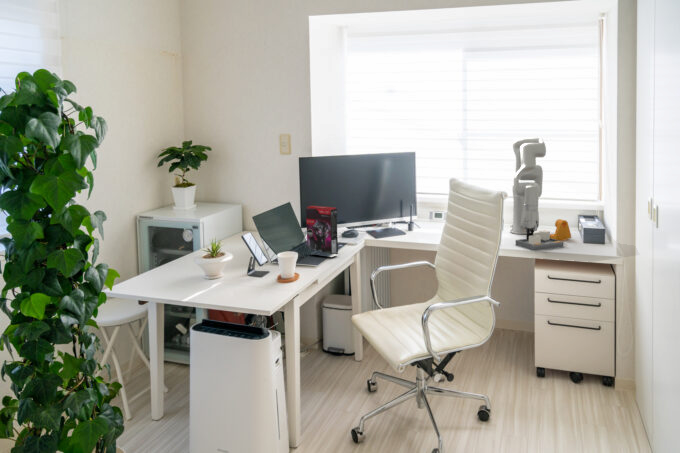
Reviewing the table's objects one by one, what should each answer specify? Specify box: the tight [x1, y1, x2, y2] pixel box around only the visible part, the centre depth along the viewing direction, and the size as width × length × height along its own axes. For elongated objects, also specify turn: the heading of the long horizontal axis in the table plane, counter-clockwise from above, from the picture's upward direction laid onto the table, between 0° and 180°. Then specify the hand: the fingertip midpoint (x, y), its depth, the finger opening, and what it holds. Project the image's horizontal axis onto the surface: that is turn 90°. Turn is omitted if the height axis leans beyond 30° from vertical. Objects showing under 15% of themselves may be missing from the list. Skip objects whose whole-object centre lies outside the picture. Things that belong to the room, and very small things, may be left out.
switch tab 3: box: [537, 229, 551, 240], centre depth 359 cm, size 4×5×5 cm
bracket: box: [550, 218, 572, 242], centre depth 369 cm, size 11×7×12 cm, turn 110°
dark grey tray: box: [515, 238, 565, 252], centre depth 354 cm, size 16×21×3 cm
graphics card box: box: [305, 205, 339, 255], centre depth 340 cm, size 17×7×27 cm, turn 56°
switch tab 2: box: [529, 235, 541, 245], centre depth 347 cm, size 4×5×5 cm
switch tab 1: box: [533, 230, 541, 236], centre depth 357 cm, size 4×5×5 cm
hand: (529, 239), depth 351 cm, fingers closed
